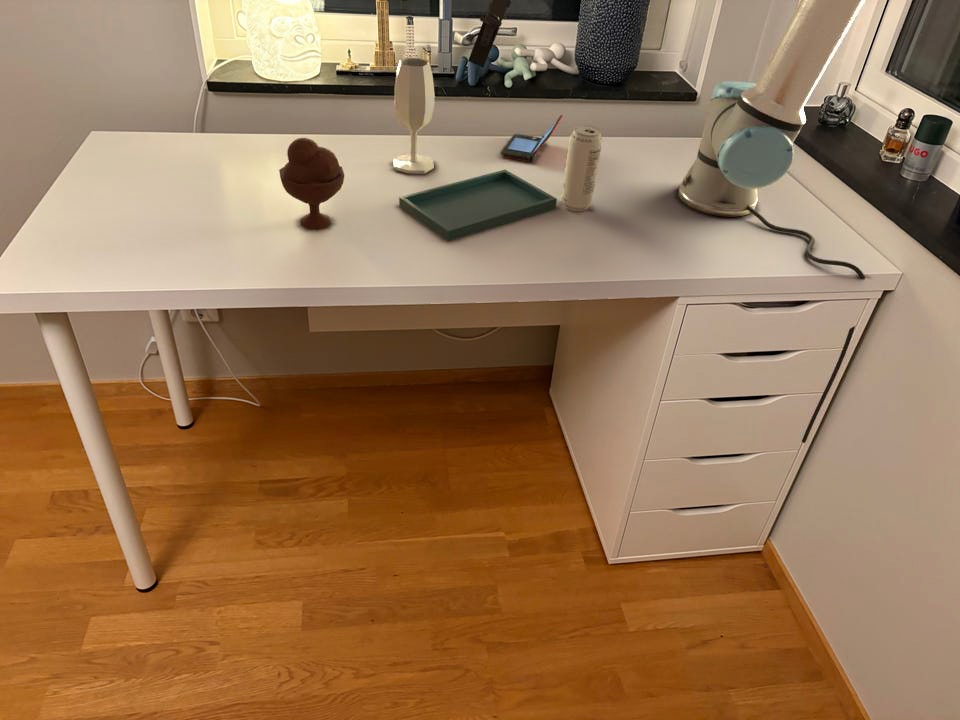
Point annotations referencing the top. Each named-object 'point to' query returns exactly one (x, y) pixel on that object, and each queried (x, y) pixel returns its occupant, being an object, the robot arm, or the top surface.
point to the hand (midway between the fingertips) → (479, 52)
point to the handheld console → (526, 145)
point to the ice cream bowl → (311, 179)
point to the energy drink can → (581, 168)
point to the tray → (476, 204)
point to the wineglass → (414, 109)
